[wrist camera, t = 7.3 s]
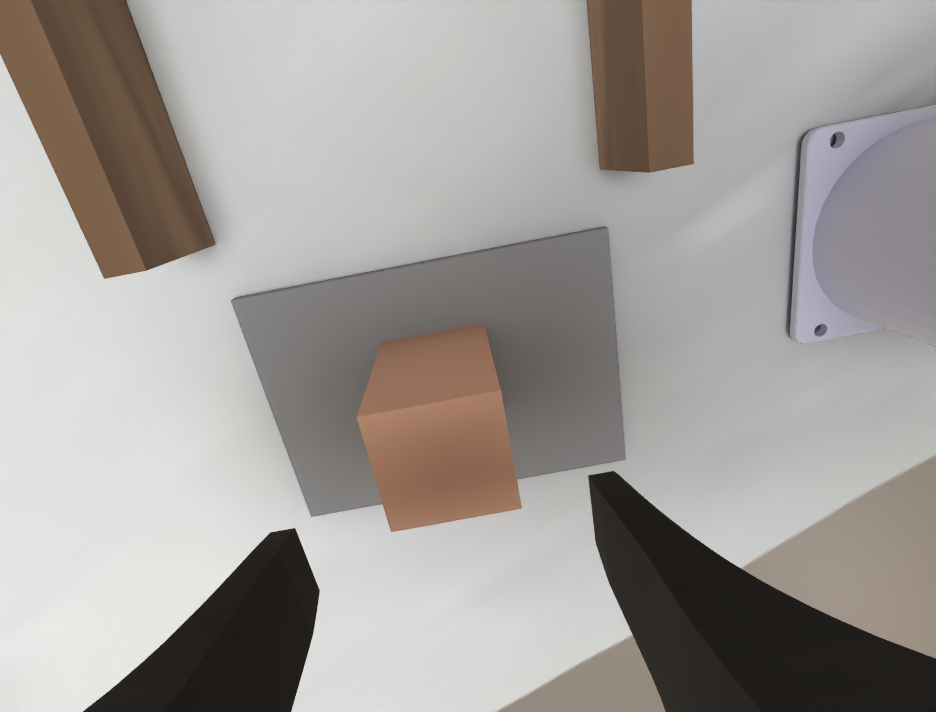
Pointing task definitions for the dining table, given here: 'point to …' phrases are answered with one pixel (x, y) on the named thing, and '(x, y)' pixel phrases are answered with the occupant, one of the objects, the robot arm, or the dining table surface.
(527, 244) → the rubber mat
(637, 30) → the open wooden frame
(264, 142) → the dining table surface
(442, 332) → the terracotta block
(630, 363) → the dining table surface
